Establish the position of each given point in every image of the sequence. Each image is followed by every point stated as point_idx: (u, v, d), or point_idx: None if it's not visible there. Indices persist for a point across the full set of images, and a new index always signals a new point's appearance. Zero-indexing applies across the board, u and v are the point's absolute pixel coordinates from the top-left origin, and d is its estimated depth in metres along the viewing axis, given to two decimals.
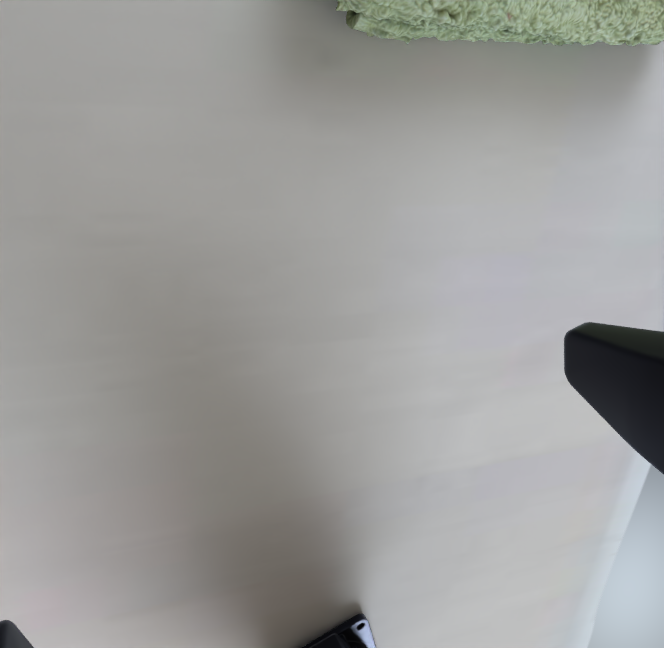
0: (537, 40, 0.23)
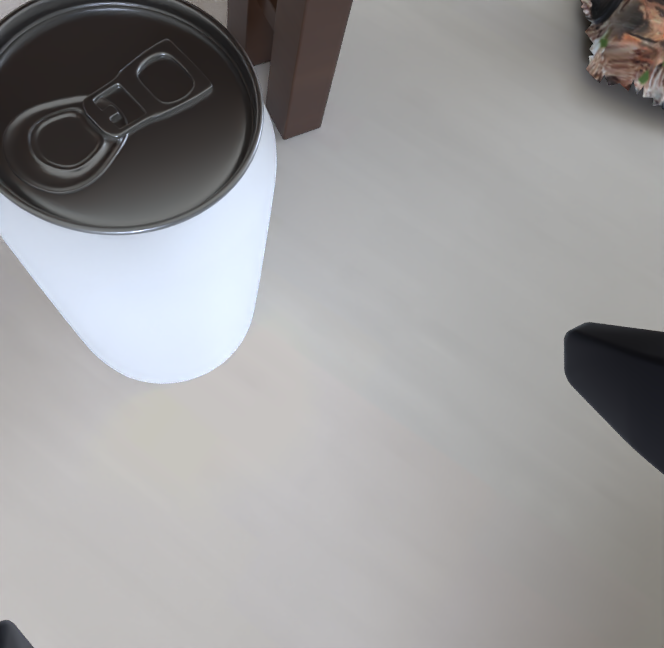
0: None
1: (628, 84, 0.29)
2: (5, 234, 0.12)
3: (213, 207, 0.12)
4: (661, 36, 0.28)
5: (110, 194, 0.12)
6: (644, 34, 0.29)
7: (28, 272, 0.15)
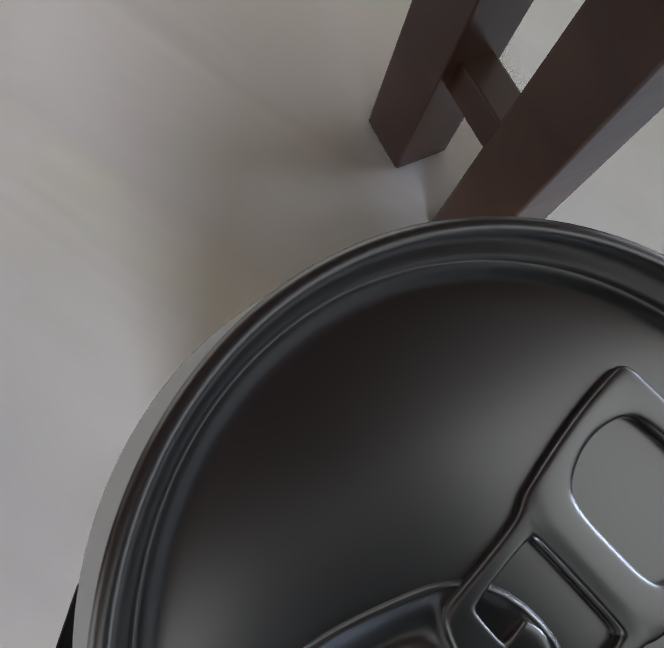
0: None
1: None
2: None
3: None
4: None
5: None
6: None
7: None
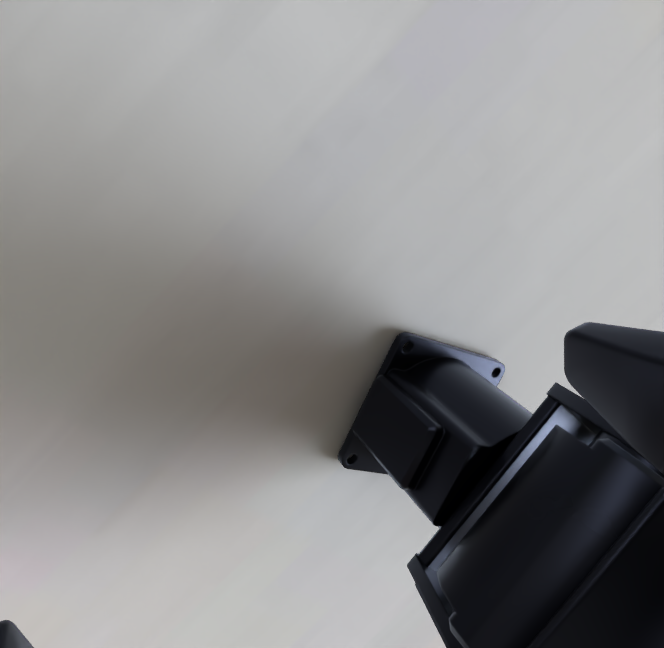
0: None
1: None
2: None
3: None
4: None
5: None
6: None
7: None
